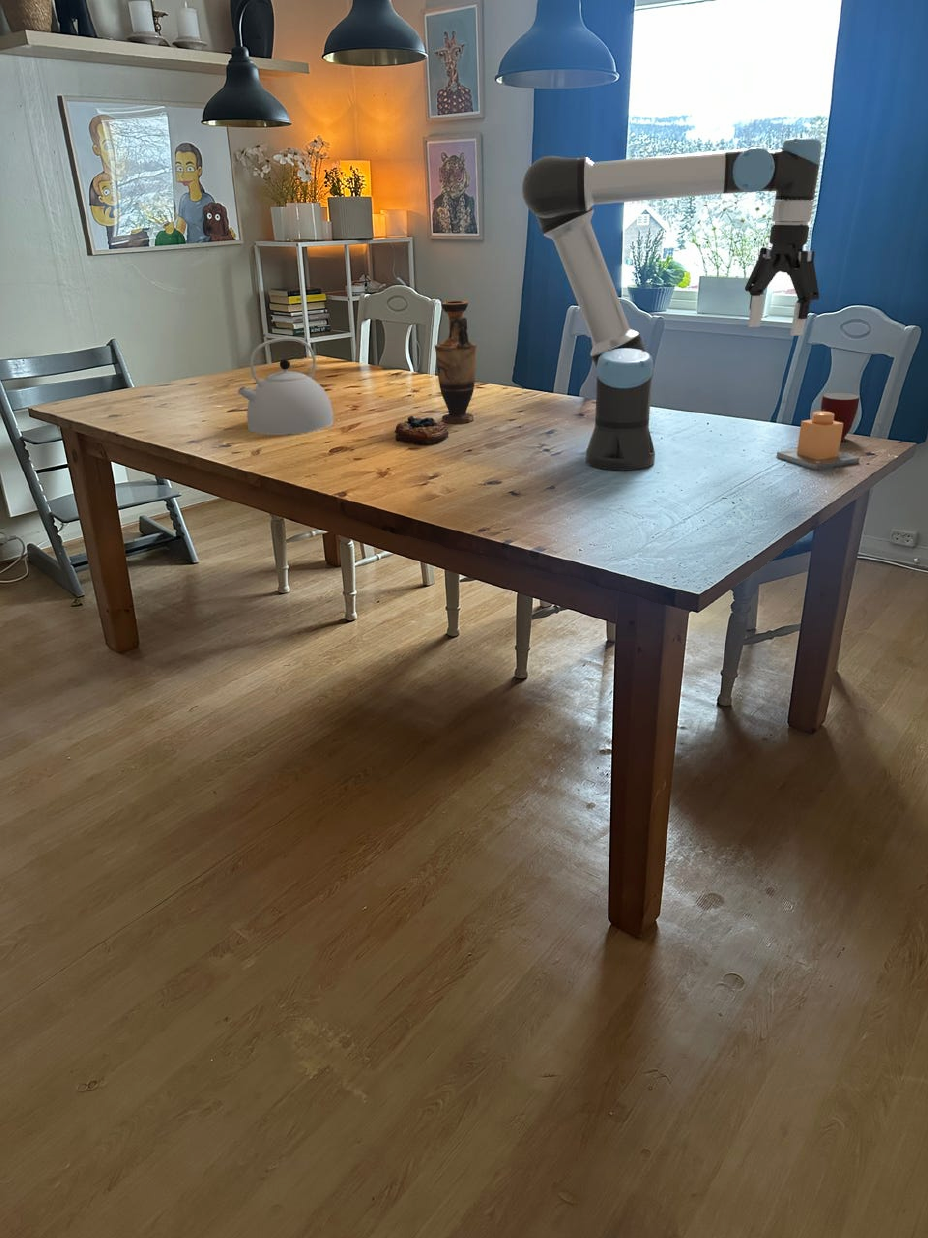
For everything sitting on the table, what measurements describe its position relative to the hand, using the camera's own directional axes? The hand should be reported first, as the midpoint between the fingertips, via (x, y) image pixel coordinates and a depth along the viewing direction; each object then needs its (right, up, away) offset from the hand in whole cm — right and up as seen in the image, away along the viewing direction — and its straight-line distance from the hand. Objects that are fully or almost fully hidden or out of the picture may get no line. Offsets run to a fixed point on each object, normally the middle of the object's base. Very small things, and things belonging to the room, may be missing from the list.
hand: (774, 330), depth 193 cm
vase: (-69, -9, +46) cm, 83 cm away
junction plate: (+10, -28, +3) cm, 29 cm away
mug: (+20, -20, +19) cm, 34 cm away
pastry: (-77, -18, +29) cm, 85 cm away
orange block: (+10, -26, +2) cm, 28 cm away
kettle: (-114, -11, +45) cm, 124 cm away
